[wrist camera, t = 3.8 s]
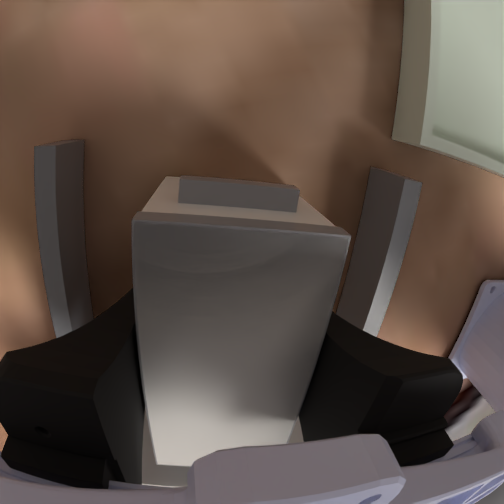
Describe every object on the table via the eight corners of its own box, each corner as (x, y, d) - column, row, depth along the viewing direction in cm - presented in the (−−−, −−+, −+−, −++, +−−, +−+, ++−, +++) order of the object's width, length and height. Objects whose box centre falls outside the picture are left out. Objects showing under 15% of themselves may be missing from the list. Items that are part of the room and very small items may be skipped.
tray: (518, -17, 8) (539, -21, 6) (514, 182, 13) (539, 191, 11) (399, -97, 6) (418, -112, 5) (391, 139, 12) (420, 144, 10)
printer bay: (387, 170, 12) (493, 212, 7) (306, 432, 18) (332, 509, 13) (65, 140, 10) (-37, 165, 4) (106, 428, 16) (92, 511, 10)
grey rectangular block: (292, 171, 12) (356, 211, 7) (257, 371, 15) (279, 463, 10) (165, 159, 11) (132, 192, 6) (163, 368, 14) (156, 464, 9)
